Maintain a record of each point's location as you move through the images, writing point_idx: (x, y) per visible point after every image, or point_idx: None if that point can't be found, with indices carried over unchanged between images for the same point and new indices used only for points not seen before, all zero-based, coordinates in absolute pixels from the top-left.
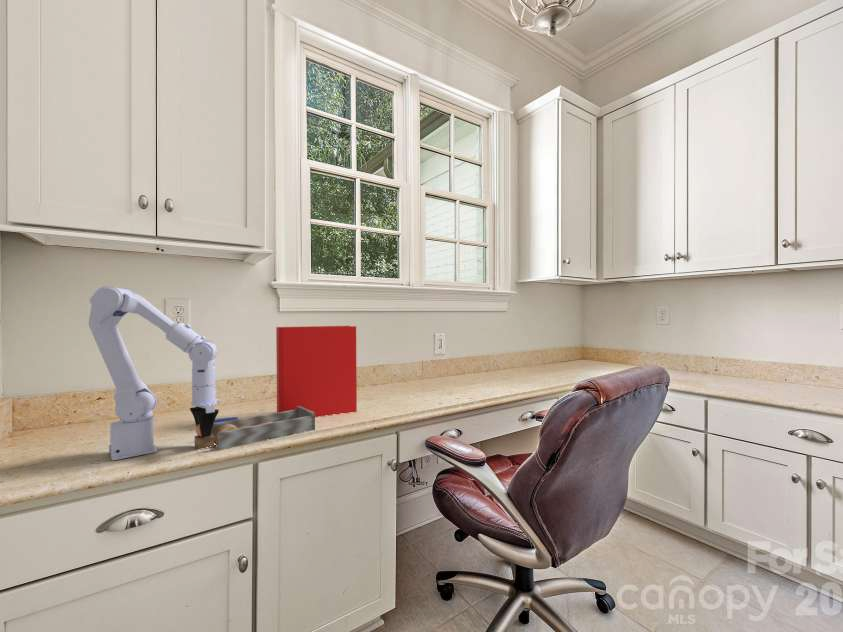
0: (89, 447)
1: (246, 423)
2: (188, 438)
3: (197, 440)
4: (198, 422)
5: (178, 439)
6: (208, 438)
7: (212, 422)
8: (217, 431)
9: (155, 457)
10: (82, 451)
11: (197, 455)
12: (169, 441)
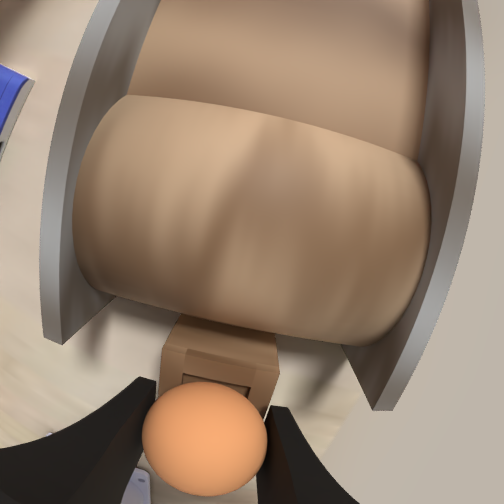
0: None
1: (140, 16)
2: (23, 327)
3: None
4: (127, 475)
5: (18, 355)
6: (269, 397)
7: (330, 486)
8: (165, 300)
9: None
10: None
11: (331, 423)
12: (29, 385)
